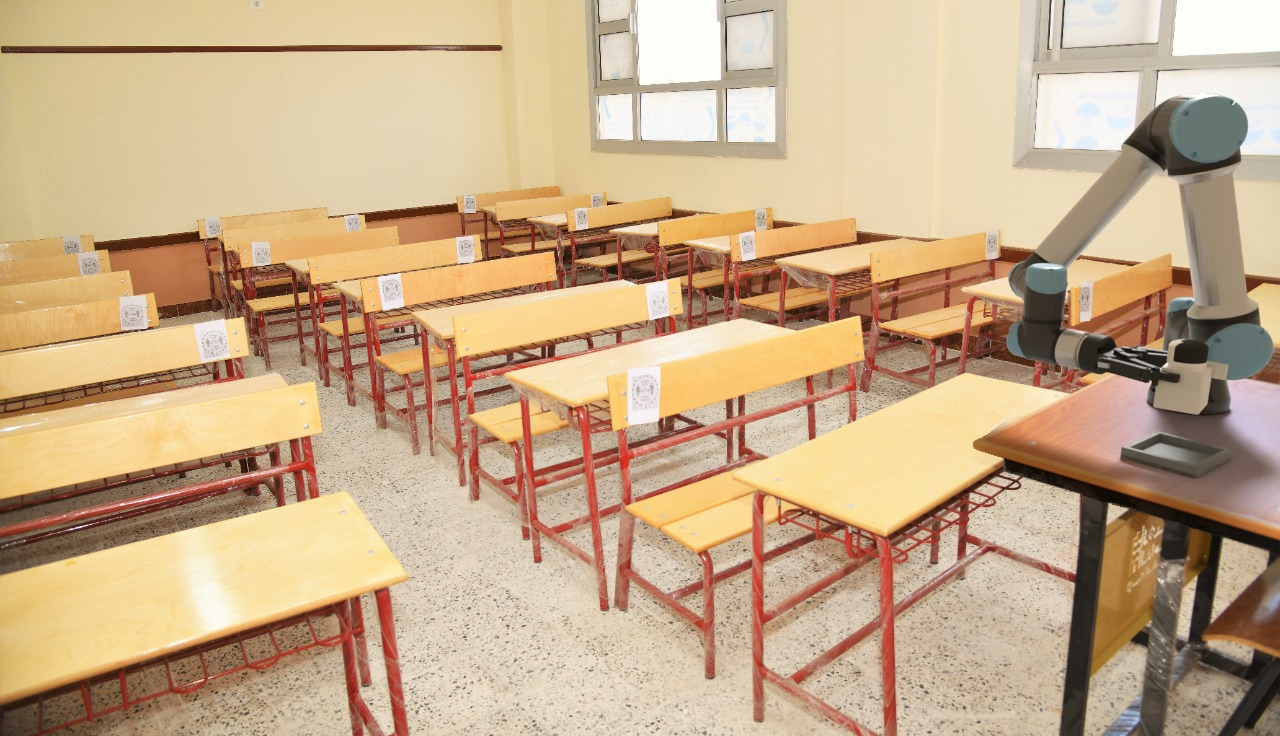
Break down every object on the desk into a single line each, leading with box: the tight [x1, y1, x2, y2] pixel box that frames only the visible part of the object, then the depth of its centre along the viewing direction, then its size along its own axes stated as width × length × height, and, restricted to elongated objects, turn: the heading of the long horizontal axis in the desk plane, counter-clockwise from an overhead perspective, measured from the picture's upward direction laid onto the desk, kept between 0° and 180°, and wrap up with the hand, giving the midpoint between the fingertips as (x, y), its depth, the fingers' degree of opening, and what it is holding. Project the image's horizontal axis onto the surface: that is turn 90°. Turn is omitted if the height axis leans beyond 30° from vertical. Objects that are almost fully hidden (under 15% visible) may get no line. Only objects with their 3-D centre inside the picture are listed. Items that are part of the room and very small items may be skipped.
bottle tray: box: [1119, 430, 1233, 479], centre depth 161 cm, size 13×13×2 cm
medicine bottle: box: [1152, 339, 1213, 416], centre depth 157 cm, size 7×7×12 cm
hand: (1214, 377), depth 153 cm, fingers closed on medicine bottle, 8 cm apart
